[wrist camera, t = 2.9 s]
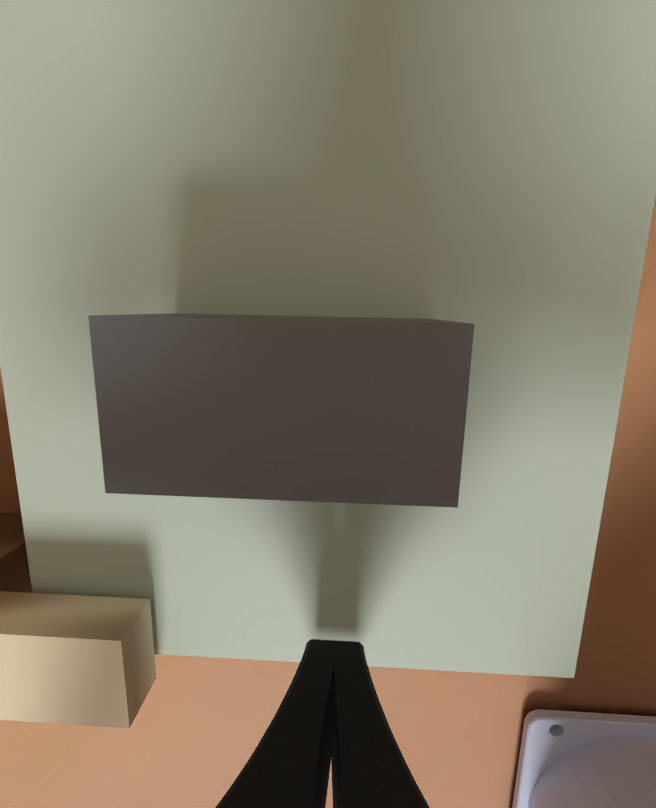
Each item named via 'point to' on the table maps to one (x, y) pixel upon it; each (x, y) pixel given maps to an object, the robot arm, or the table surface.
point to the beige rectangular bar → (74, 658)
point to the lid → (324, 313)
